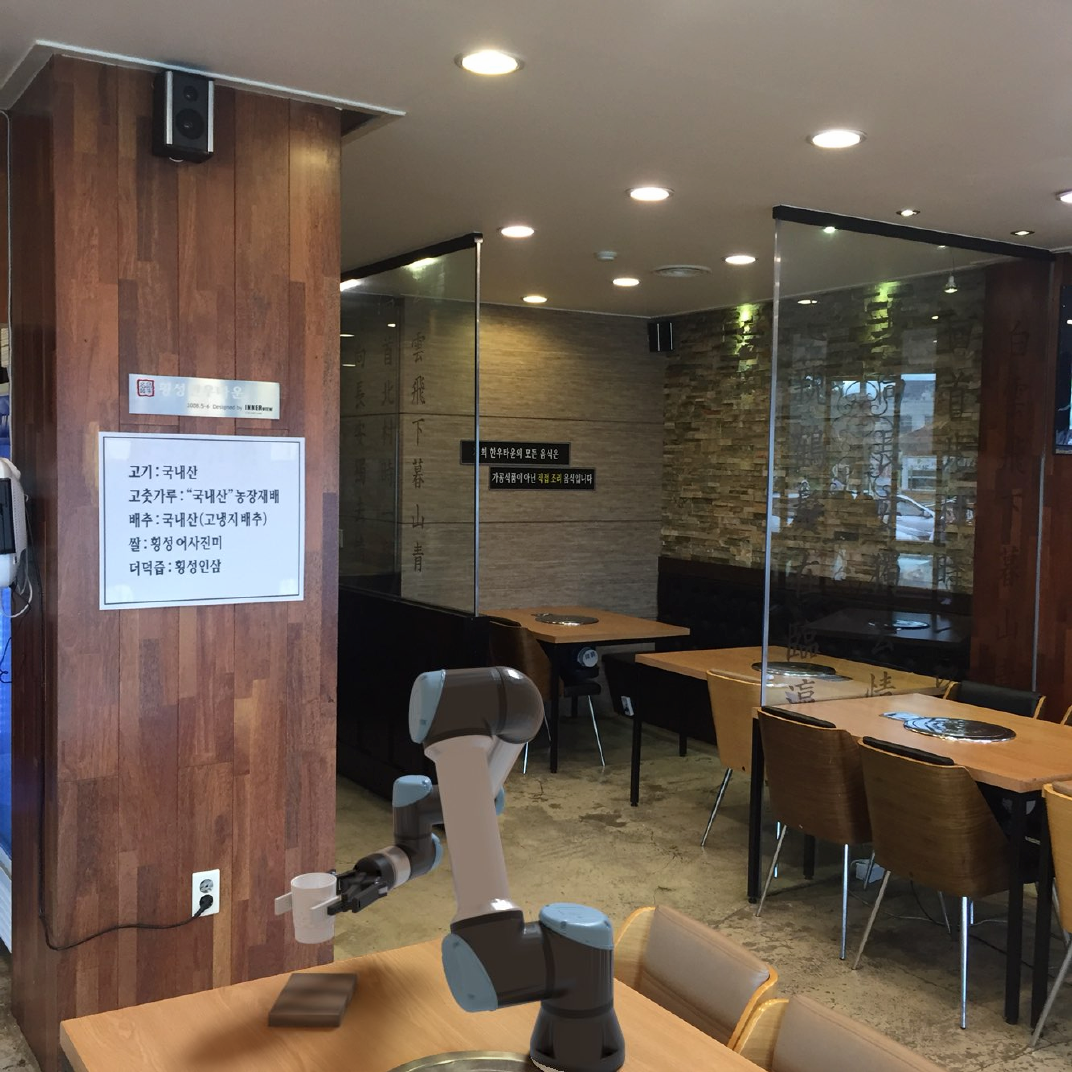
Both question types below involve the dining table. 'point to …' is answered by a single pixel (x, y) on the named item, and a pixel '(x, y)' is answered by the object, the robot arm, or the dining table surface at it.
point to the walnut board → (313, 999)
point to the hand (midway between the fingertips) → (294, 911)
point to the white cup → (307, 895)
